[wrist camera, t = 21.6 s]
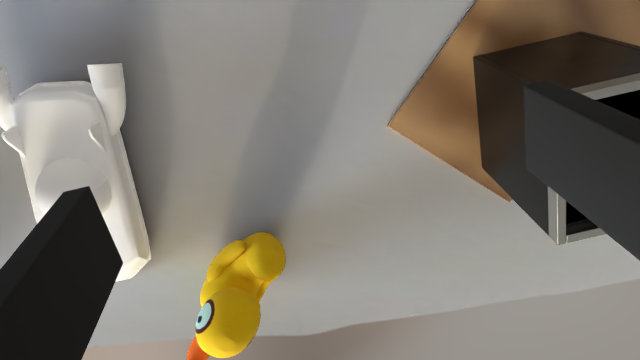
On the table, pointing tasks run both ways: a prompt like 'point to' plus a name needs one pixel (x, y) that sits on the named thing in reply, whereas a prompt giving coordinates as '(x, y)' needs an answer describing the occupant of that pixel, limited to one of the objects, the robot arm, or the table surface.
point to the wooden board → (485, 37)
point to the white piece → (79, 151)
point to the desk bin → (509, 115)
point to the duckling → (235, 295)
